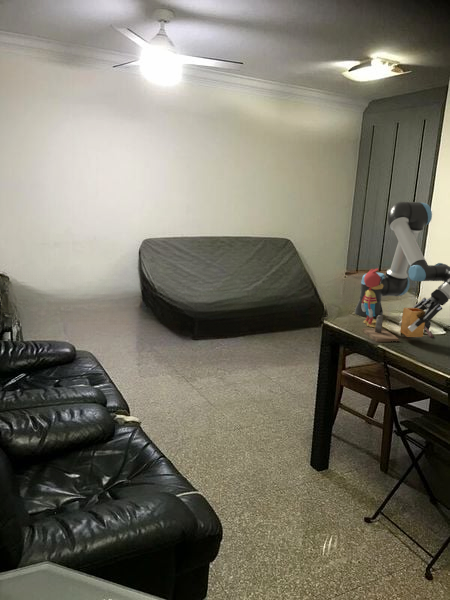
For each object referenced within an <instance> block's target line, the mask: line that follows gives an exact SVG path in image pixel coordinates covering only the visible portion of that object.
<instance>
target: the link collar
mask: <svg viewBox="0 0 450 600" xmlns="http://www.w3.org/2000/svg"><path fill="white" fill-rule="evenodd" d="M425 311H426V310H421V309H420V308H412V307H403V310H402V317H401V320H402V323H401V324H400V330H399V332H400V333H401V334H402V335H405V337H407V338H423V337H424V330H425V329H424V326H425V322H424V323H422V324H421V325H420V326H418V327H417V328H416V329H415V330H414V331H412V332H411V331H410V330H409V329H408V327H409V326H410V325H411V324H412V323H414V322H415V321H416V320H417V319H418V318H419V317H422V315H423V314H424V313H425ZM419 319H420V318H419Z"/></svg>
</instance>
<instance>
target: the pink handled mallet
mask: <svg viewBox="0 0 450 600" xmlns="http://www.w3.org/2000/svg"><path fill="white" fill-rule="evenodd" d="M430 327H431V320H430V321H429V322H428V323H426V322H425V326H424V330H425V331H426V333H427V336H428V338H431V339H433V338H434V335H433V333H432V332H431V331H430Z"/></svg>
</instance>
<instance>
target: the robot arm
mask: <svg viewBox="0 0 450 600" xmlns="http://www.w3.org/2000/svg"><path fill="white" fill-rule="evenodd" d="M432 212H433V211H432V208H431V206H430V205H429V204H428V203H426V202H420V201H399V202H395V203H394V204H393V205H392V206H391V207H390V208H389V210H388V212H387V216H386V217H387V218H386V219H387V224H388V227H389V229H390V230H391V231H393V232H394V234H395V237H396V238H397V239H396V240H397V241H398V242H397V245H396V249H395V251H394V256H393V258H392V262H391V266H390V268H388V269H387V270H386V272H385V273H383V272H377V271H376V273H377V274H378V275H379V276H380V279H381V277H382V280H381V281H382V283H381V284H383V288H382V289H378V290H374V289H371V290H372V291H373V292H374V293H375V296H376V300H377V303H375V316H374V317H373V318H377V316H378V315H382V316H383V315H384V314H383V313H384V311H383V310H384V309H383V306H382V297H399V296H404V295H405V294H407V293H408V291H409V289H410V287H411V283H410V280H411V281H414V282H442V283H441V284H440V285H439V286H438V287H437V288H436V289H435V290H433V292H431V293H430V295H431V296H430V297H429V298H426V297H423V298H422V299H421V300H420V301H419V302H417V303H416V304H415V305H414V306H412V307H411V308H420V309H421V310H423V311H425V313H424V314H423V315H422V317H419V318H420V319H419V318H418V319H417V320H416V321H415V322H414V323H412V324H411V325H410V326H409V327H408V329H409V330H410V331H411V332H412V331H414V330H415V329H416V328H417V327H418V326H420V325H421V324H422V323H424V322H426V323H428V322H429V321H430V322H431V320H432V319H433V318H434V317H435V316H436V315H437V314H438V313H439V312H440V311H443V307H442V306H445V304H446V303H448V302H449V300H450V265H448V264H445V263H442V262H438V263H435V264H434V265H429V264H428V263H427V261H426V258H425V257H424V255H423V252H422V250H421V248H420V246H419V244H418V242H417V239H418V236H419V233H420V232H423V229H424V228H425V227H424V226H427V225H429V224H430V223H431V221H432V218H433V213H432ZM409 266H410V267H409ZM408 267H409V268H408ZM407 270H408V271H407ZM367 273H368V272H366V273H364V274H363V275H362V277H361V282H360V291H359V300H358V302H357V305H356V306H355V309H354V314H355V315H357V316H358V315H359V316H361V317H365V318H367V314H366V312H363V311H362V307H361V305H362V299H363V297H364V295H365V292H366V291H367V290H369V287H368V286H366V285H365V282H364V277H365V275H366V274H367ZM364 303H365V302H364ZM401 323H402V319H401V320H400V321H399V324H400V325H401Z"/></svg>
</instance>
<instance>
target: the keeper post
mask: <svg viewBox="0 0 450 600" xmlns="http://www.w3.org/2000/svg"><path fill="white" fill-rule="evenodd" d="M375 320H376V327H375V328H373V327H369V328H365V327H364V328H362V332H363V333H364V334H366V335H367V336H368V337H369V338H370V339H372V340H374V341H375V342H376V343H378V342H380V343H381V342H383V343H386V342H387V343H391V341H392V343H394V342H393V341H396V342H397V341H400V338H398V337H397V336H396V335H394V334H393V333H391V332H390V331H388V330H387V329H385V328H383V323H384V316H383V315H378V316H377V317H376V319H375ZM396 342H395V343H396ZM397 343H398V342H397Z"/></svg>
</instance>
